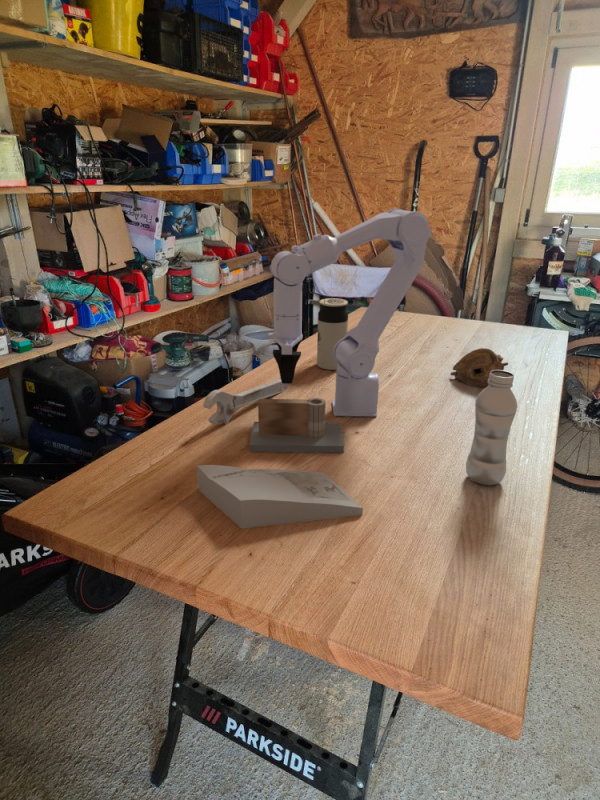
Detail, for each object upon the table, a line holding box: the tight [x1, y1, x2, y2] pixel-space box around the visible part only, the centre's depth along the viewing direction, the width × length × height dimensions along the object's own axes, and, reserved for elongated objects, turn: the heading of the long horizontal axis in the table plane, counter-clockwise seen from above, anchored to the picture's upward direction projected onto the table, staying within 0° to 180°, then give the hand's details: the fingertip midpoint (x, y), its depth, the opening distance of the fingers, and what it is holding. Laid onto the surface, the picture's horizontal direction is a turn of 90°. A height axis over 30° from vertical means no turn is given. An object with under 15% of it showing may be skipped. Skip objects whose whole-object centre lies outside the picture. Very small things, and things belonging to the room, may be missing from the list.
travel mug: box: [316, 297, 349, 371], centre depth 143 cm, size 8×8×18 cm
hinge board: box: [249, 421, 345, 454], centre depth 105 cm, size 18×10×4 cm, turn 90°
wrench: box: [202, 377, 290, 425], centre depth 119 cm, size 8×2×30 cm
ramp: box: [196, 464, 364, 529], centre depth 85 cm, size 28×16×5 cm, turn 79°
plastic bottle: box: [465, 369, 518, 486], centre depth 89 cm, size 6×7×20 cm
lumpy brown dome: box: [450, 347, 509, 389], centre depth 141 cm, size 10×24×15 cm
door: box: [257, 397, 327, 438], centre depth 104 cm, size 13×4×7 cm, turn 90°
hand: (287, 376), depth 112 cm, fingers open, 7 cm apart
